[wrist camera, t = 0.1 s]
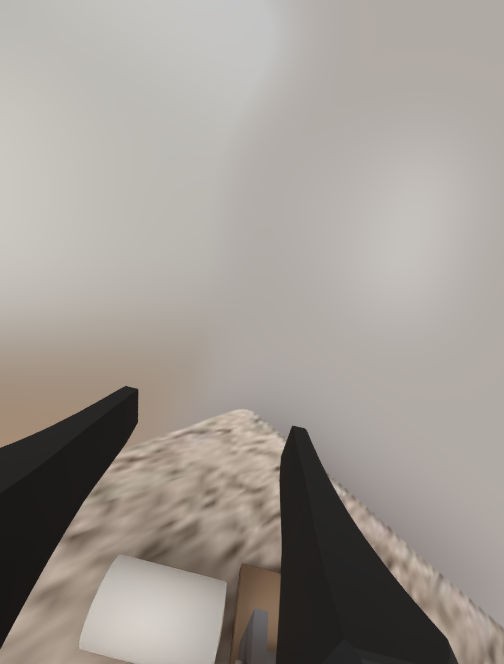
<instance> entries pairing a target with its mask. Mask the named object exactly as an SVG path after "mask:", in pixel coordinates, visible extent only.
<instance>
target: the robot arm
mask: <svg viewBox="0 0 504 664" xmlns="http://www.w3.org/2000/svg"><path fill="white" fill-rule="evenodd" d="M137 423H138V389H136V388H131V387H128V386H125V387H123V388H121V389H119V390H117V391H116V392H114V393H112V394H110V395H109V396H107V397H105V398H103V399H102V400H100V401H98V402H96V403H95V404H93V405H91V406H89V407H87V408H85V409H84V410H82V411H80V412H78V413H76V414H74V415H72V416H70V417H68V418H66V419H64V420H62V421H60V422H58V423H56V424H55V425H53V426H50V427H48V428H46V429H44V430H42V431H40V432H37V433H35V434H33V435H31V436H28V437H26V438H24V439H22V440H19V441H17V442H14V443H12V444H9V445H7V446H4V447H1V448H0V649H1V647H2V645H3V643H4V641H5V639H6V637H7V635H8V633H9V632H10V630H11V628H12V626H13V624H14V622H15V620H16V618H17V617H18V615H19V613H20V611H21V609H22V607H23V605H24V604H25V602H26V600H27V598H28V596H29V594H30V592H31V591H32V589H33V587H34V585H35V584H36V582H37V580H38V578H39V576H40V575H41V573H42V571H43V569H44V568H45V566H46V564H47V562H48V560H49V559H50V557H51V555H52V553H53V552H54V550H55V548H56V547H57V545H58V543H59V542H60V540H61V538H62V537H63V535H64V533H65V531H66V530H67V528H68V526H69V525H70V523H71V522H72V520H73V518H74V517H75V515H76V513H77V512H78V510H79V509H80V507H81V505H82V504H83V502H84V501H85V499H86V498H87V496H88V495H89V493H90V492H91V490H92V489H93V488H94V486H95V485H96V484H97V482H98V481H99V480H100V478H101V477H102V476H103V474H104V473H105V471H106V470H107V469H108V467H109V466H110V465H111V463H112V462H113V461H114V459H115V458H116V456H117V455H118V454H119V452H120V451H121V450H122V448H123V447H124V445H125V444H126V442H127V440H128V439H129V437H130V436H131V434H132V432H133V430H134V428H135V427H136V425H137ZM279 481H280V509H281V534H282V557H281V582H280V601H279V619H278V635H277V650H276V664H458V662H457V659H456V657H455V655H454V653H453V651H452V648H451V646H450V644H449V642H448V639H447V638H446V637H445V636H444V635H443V633H442V632H441V631H440V630H439V629H438V628H437V627H436V625H435V624H434V623H433V622H432V621H431V620H430V619H429V618H428V616H427V615H426V614H425V613H424V612H423V611H422V610H421V608H420V607H419V606H418V605H417V604H416V603H415V602H414V600H413V599H412V598H411V597H410V596H409V595H408V593H407V592H406V591H405V590H404V588H403V587H402V586H401V585H400V583H399V582H398V581H397V580H396V579H395V577H394V576H393V575H392V574H391V572H390V571H389V570H388V568H387V567H386V566H385V564H384V563H383V562H382V560H381V559H380V558H379V556H378V555H377V554H376V552H375V551H374V550H373V548H372V547H371V546H370V544H369V543H368V541H367V540H366V539H365V537H364V536H363V534H362V533H361V531H360V530H359V528H358V527H357V525H356V524H355V522H354V521H353V519H352V518H351V516H350V514H349V513H348V511H347V510H346V508H345V506H344V505H343V503H342V501H341V500H340V498H339V496H338V494H337V492H336V491H335V489H334V487H333V485H332V483H331V482H330V480H329V478H328V476H327V474H326V472H325V470H324V468H323V466H322V464H321V462H320V460H319V457H318V456H317V453H316V451H315V449H314V446H313V444H312V442H311V440H310V437H309V435H308V432H307V430H306V429H305V428H301V427H296V426H292V428H291V430H290V433H289V436H288V439H287V442H286V444H285V447H284V450H283V453H282V456H281V465H280V480H279Z"/></svg>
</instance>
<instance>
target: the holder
mask: <svg viewBox="0 0 504 664" xmlns="http://www.w3.org/2000/svg"><path fill="white" fill-rule="evenodd" d="M280 582H281V573H277V572H273V571H269V570H266V569H262V568H258V567H254V566H250V565H246V564H242V565H241V568H240V574H239V583H238V592H237V601H236V609H235V618H234V627H233V636H232V645H231V653H230V662H229V664H276V650H277V635H278V619H279V601H280Z"/></svg>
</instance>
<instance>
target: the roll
mask: <svg viewBox="0 0 504 664" xmlns="http://www.w3.org/2000/svg"><path fill="white" fill-rule="evenodd" d="M226 587H227V582H226V581H223V580H219V579H215V578H211V577H208V576H204V575H200V574H196V573H192V572H188V571H184V570H180V569H177V568H173V567H169V566H165V565H161V564H157V563H153V562H150V561H146V560H142V559H138V558H134V557H130V556H126V555H122V554H120V555H118V556H117V557H116V559H115V560H114V561H113V563H112V565H111V566H110V568H109V570H108V571H107V573H106V575H105V577H104V579H103V581H102V583H101V585H100V587H99V589H98V591H97V593H96V595H95V598H94V600H93V602H92V605H91V607H90V610H89V612H88V615H87V617H86V620H85V623H84V626H83V629H82V633H81V636H80V641H79V649H80V650H84V651H88V652H92V653H95V654H99V655H103V656H107V657H111V658H114V659H118V660H122V661H126V662H129V663H133V664H214V662H215V657H216V653H217V650H218V646H219V641H220V636H221V631H222V625H223V618H224V610H225V597H226Z"/></svg>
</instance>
